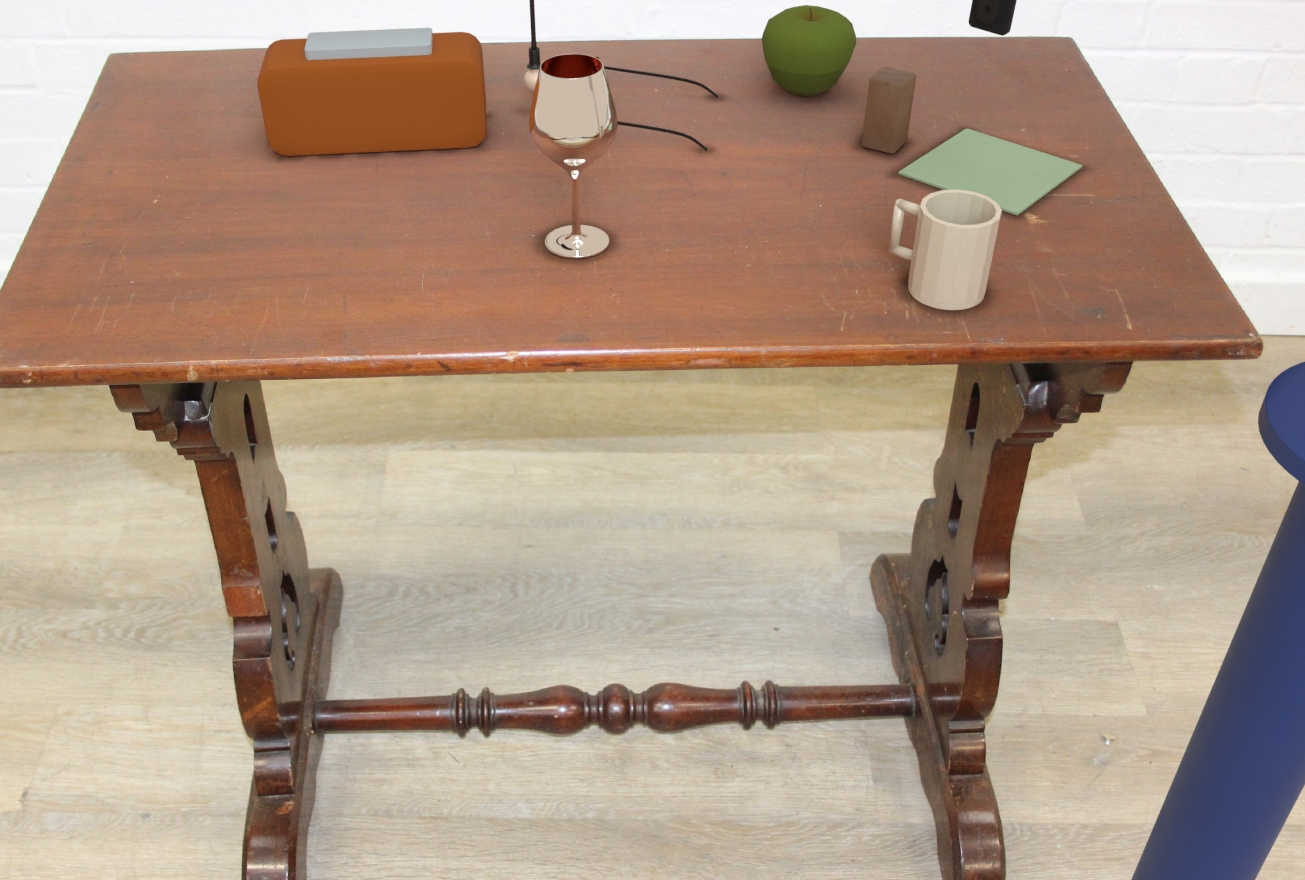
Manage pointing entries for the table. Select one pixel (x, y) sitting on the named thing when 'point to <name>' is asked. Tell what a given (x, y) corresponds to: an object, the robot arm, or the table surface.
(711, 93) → the glasses
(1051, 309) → the table surface
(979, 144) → the mat
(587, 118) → the wineglass
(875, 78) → the wooden block
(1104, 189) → the table surface
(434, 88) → the alarm clock
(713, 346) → the table surface
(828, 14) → the apple
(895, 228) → the mug
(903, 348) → the table surface
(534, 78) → the light fixture
